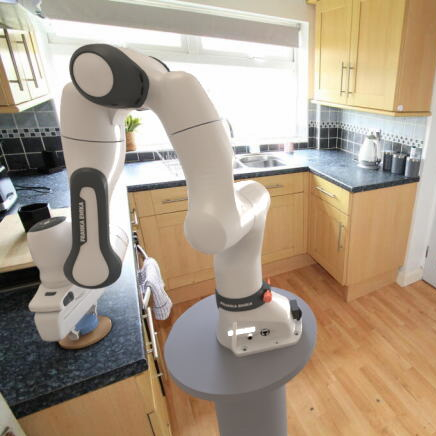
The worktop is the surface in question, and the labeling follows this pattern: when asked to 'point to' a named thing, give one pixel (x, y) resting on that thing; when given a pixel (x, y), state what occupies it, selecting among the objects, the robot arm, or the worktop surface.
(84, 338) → the trivet
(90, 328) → the jar lid
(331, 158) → the worktop surface
